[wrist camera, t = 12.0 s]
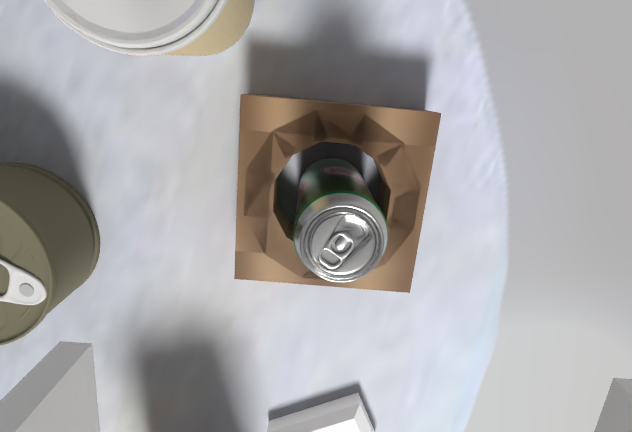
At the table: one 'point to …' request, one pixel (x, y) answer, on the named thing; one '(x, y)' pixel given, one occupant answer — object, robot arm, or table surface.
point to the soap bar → (326, 418)
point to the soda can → (338, 222)
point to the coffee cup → (157, 24)
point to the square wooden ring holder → (338, 127)
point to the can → (40, 246)
